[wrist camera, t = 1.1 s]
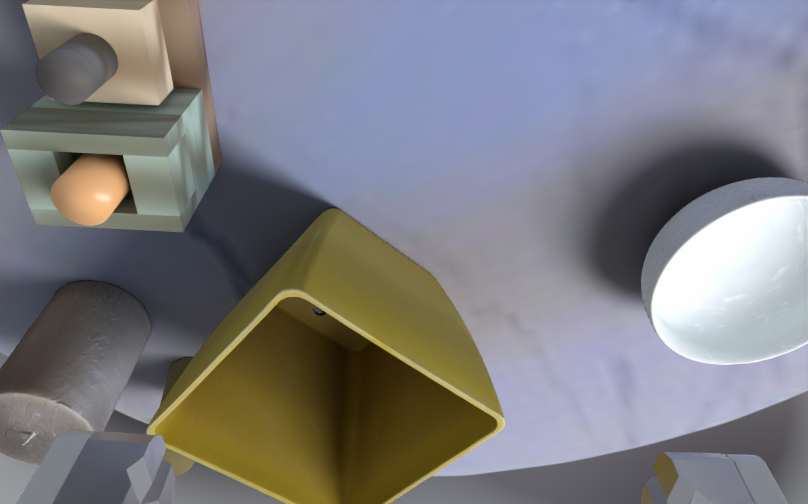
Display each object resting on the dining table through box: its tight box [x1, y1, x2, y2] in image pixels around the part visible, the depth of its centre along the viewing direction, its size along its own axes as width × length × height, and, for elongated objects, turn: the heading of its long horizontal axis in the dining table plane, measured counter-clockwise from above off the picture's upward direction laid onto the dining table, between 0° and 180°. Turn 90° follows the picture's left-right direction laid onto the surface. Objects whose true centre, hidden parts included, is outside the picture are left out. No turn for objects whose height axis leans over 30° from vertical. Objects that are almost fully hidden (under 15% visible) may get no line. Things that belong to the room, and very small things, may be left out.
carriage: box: [22, 0, 174, 105], centre depth 38 cm, size 6×7×8 cm
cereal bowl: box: [641, 177, 808, 365], centre depth 50 cm, size 17×17×7 cm
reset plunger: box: [51, 153, 131, 226], centre depth 39 cm, size 4×4×4 cm
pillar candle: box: [0, 281, 152, 465], centre depth 54 cm, size 10×10×15 cm
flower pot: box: [147, 208, 505, 504], centre depth 50 cm, size 19×19×17 cm
